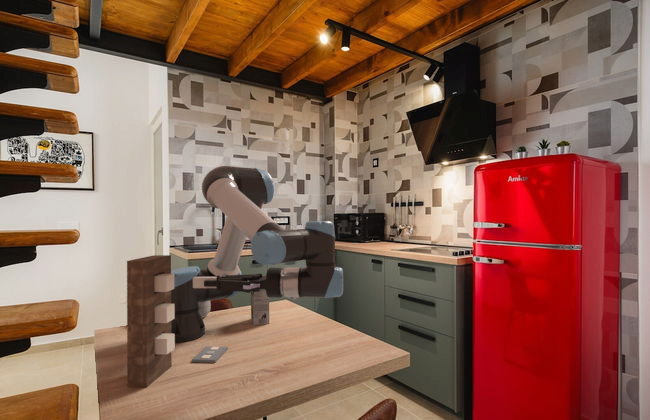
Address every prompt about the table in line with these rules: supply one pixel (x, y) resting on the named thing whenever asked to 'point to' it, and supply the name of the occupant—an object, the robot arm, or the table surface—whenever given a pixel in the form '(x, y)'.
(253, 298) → the coffee box
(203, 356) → the pattern card
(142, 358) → the switch panel
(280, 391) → the table surface
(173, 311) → the middle key
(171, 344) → the bottom key
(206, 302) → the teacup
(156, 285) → the top key
